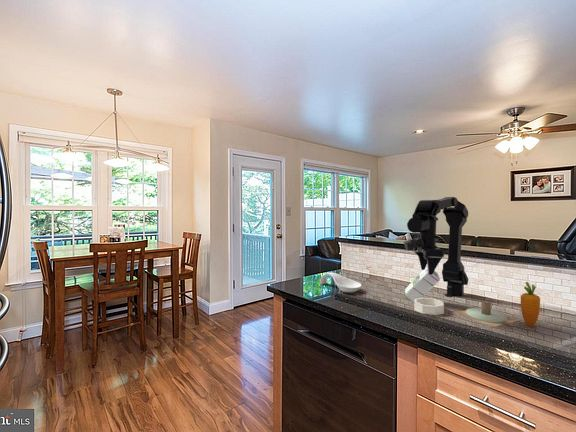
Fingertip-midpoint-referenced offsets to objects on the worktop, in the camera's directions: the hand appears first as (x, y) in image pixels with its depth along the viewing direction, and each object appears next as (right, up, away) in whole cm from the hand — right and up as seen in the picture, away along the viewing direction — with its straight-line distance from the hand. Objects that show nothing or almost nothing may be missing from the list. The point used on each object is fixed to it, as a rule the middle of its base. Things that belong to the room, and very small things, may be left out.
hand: (426, 272), depth 114 cm
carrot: (+25, -15, -19) cm, 35 cm away
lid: (+16, -14, -10) cm, 24 cm away
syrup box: (-3, -12, +10) cm, 16 cm away
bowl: (-1, -15, -3) cm, 15 cm away
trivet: (+16, -15, -10) cm, 24 cm away
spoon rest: (-28, -15, +32) cm, 45 cm away
